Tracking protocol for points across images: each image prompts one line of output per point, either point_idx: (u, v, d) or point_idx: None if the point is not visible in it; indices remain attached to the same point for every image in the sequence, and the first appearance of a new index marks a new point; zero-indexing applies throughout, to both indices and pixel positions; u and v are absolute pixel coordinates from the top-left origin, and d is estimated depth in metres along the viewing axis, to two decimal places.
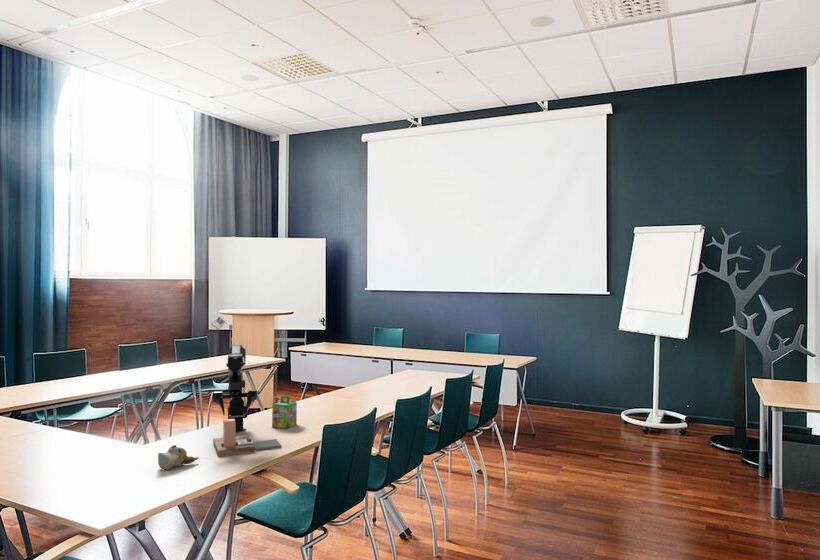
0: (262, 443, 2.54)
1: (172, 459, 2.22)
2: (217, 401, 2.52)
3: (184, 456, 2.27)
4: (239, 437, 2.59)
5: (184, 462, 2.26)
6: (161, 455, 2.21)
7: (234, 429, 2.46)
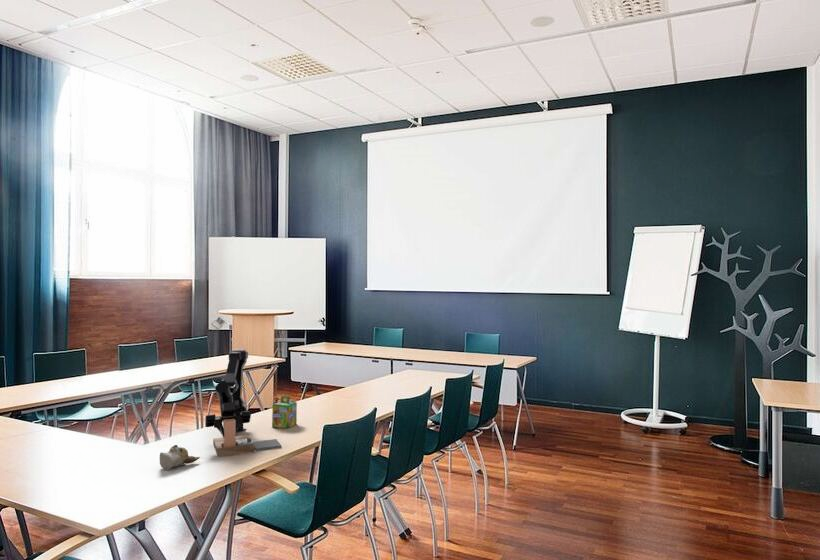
0: (262, 443, 2.54)
1: (173, 459, 2.23)
2: (215, 424, 2.48)
3: (185, 456, 2.27)
4: (239, 437, 2.59)
5: (186, 461, 2.27)
6: (163, 455, 2.21)
7: (234, 429, 2.46)
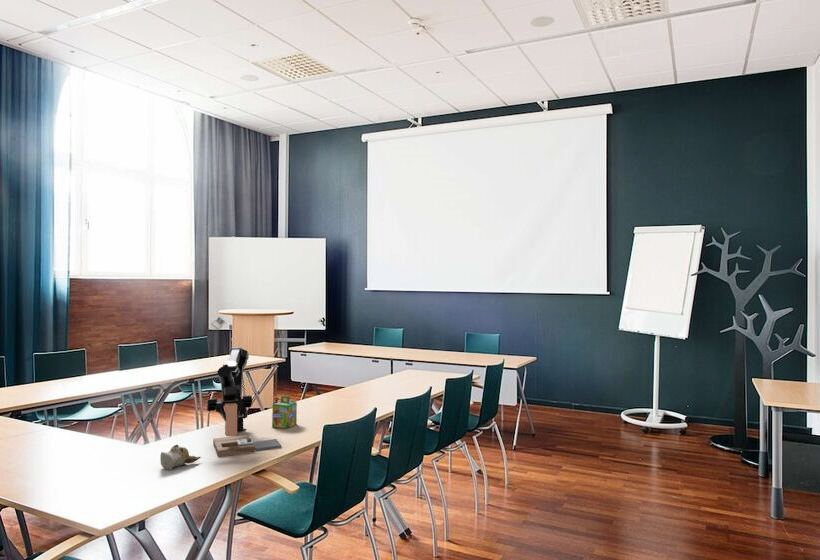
0: (262, 443, 2.54)
1: (174, 458, 2.23)
2: (217, 408, 2.49)
3: (186, 455, 2.28)
4: (239, 437, 2.59)
5: (186, 461, 2.27)
6: (163, 454, 2.22)
7: (236, 413, 2.47)
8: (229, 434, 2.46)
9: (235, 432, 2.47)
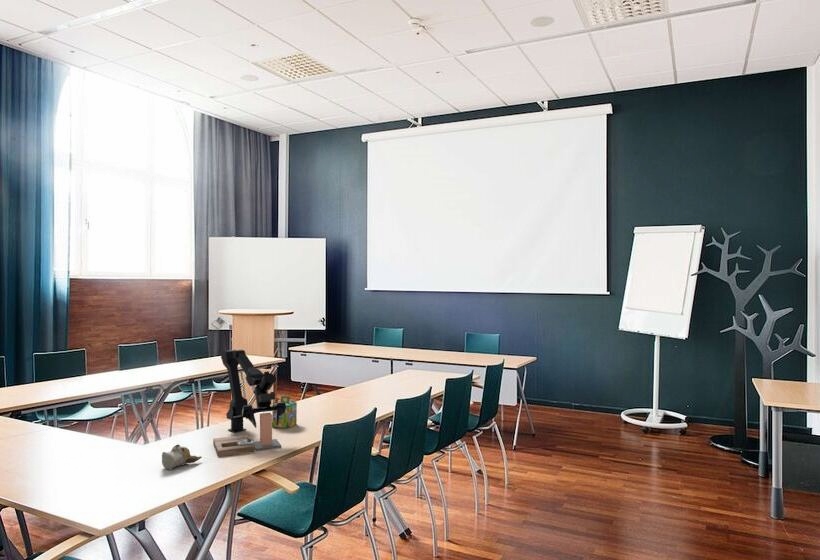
0: None
1: (176, 458, 2.23)
2: (247, 415, 2.54)
3: (188, 455, 2.28)
4: (239, 437, 2.59)
5: (188, 461, 2.27)
6: (165, 454, 2.22)
7: (271, 423, 2.53)
8: (264, 443, 2.52)
9: (270, 441, 2.53)
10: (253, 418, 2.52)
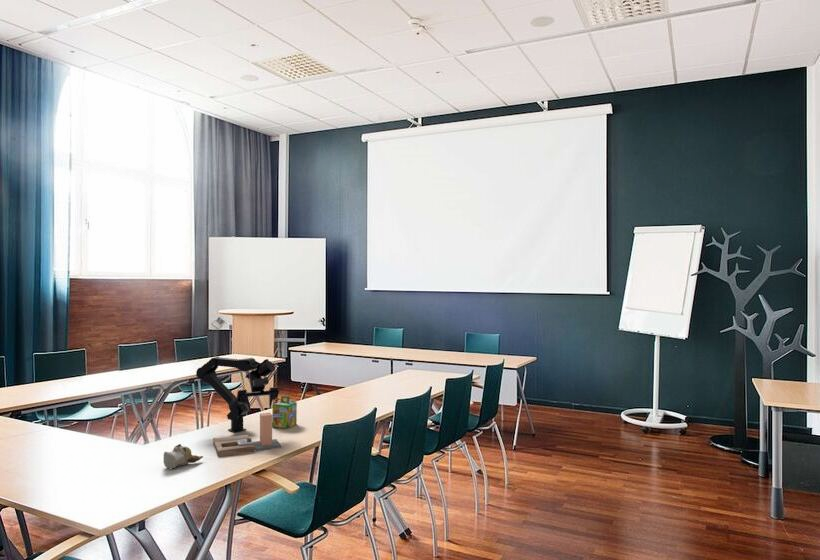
0: None
1: (177, 458, 2.24)
2: (242, 399, 2.66)
3: (189, 455, 2.29)
4: (239, 437, 2.59)
5: (189, 460, 2.28)
6: (167, 454, 2.22)
7: (271, 423, 2.53)
8: (264, 443, 2.52)
9: (270, 441, 2.53)
10: (247, 402, 2.65)
